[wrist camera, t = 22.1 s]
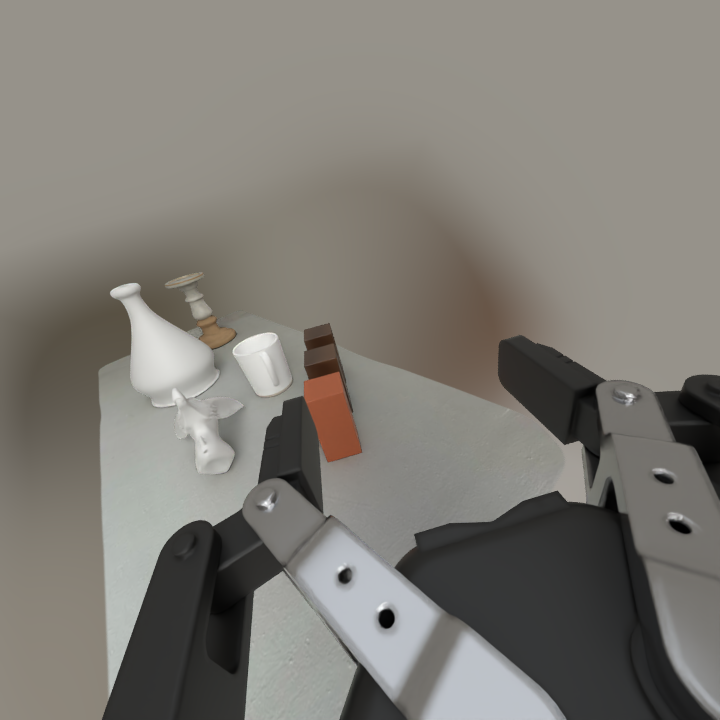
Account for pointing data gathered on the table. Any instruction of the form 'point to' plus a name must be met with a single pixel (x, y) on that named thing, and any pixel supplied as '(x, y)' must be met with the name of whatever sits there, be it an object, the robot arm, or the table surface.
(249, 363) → the mug
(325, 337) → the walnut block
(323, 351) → the walnut block mid
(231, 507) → the table surface
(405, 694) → the robot arm
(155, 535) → the table surface
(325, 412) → the terracotta block
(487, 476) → the table surface
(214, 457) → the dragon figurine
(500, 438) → the table surface
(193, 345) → the vase
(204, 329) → the candle holder
